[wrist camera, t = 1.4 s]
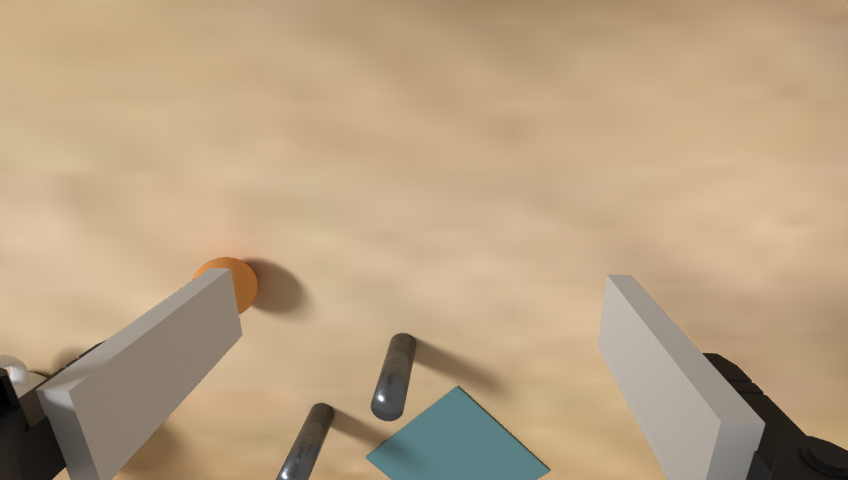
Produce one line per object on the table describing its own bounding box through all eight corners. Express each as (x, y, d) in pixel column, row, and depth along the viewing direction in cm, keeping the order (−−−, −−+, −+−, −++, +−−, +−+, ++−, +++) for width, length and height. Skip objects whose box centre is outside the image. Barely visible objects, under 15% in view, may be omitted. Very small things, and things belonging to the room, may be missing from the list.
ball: (202, 274, 41) (164, 299, 36) (234, 237, 40) (200, 258, 35) (246, 311, 42) (215, 341, 37) (279, 277, 41) (252, 303, 35)
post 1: (305, 412, 46) (269, 484, 37) (321, 399, 45) (287, 469, 36) (323, 427, 46) (291, 501, 37) (339, 414, 45) (310, 487, 37)
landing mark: (365, 456, 47) (365, 457, 46) (457, 385, 43) (457, 387, 42) (454, 529, 49) (454, 531, 49) (549, 469, 45) (549, 471, 45)
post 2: (384, 344, 42) (364, 406, 33) (402, 328, 41) (386, 388, 33) (403, 360, 42) (387, 426, 34) (421, 345, 42) (410, 409, 33)
